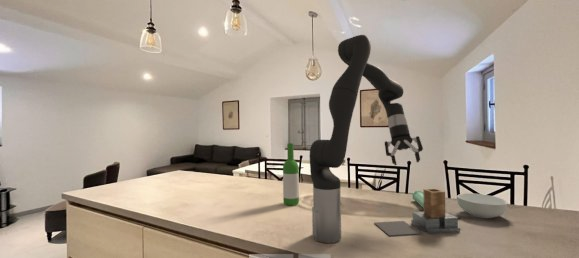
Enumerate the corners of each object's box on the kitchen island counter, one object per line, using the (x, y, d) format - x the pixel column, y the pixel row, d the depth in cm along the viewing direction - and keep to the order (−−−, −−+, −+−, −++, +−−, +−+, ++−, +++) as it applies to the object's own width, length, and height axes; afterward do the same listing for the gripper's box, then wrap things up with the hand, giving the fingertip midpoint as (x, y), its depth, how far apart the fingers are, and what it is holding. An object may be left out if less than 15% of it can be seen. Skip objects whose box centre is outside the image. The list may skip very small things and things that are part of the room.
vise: (427, 234, 89) (427, 200, 89) (411, 223, 99) (410, 193, 99) (470, 231, 90) (470, 198, 90) (450, 221, 100) (449, 192, 100)
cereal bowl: (459, 218, 104) (459, 200, 104) (455, 207, 118) (455, 191, 118) (513, 225, 96) (513, 206, 96) (502, 212, 111) (501, 195, 111)
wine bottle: (281, 205, 125) (280, 143, 125) (286, 201, 132) (285, 143, 132) (296, 206, 122) (295, 143, 123) (300, 202, 130) (299, 143, 130)
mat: (389, 236, 87) (389, 235, 87) (374, 223, 99) (374, 222, 99) (422, 234, 89) (422, 233, 89) (403, 221, 101) (403, 220, 101)
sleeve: (432, 217, 92) (432, 192, 92) (423, 213, 97) (423, 189, 97) (445, 216, 92) (445, 191, 92) (436, 212, 97) (435, 188, 97)
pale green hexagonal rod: (441, 204, 104) (421, 188, 128) (426, 209, 105) (410, 192, 129) (447, 217, 103) (426, 199, 128) (433, 222, 104) (414, 203, 129)
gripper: (380, 127, 110) (388, 164, 105) (416, 120, 106) (426, 159, 100) (381, 132, 117) (388, 167, 111) (415, 126, 112) (424, 162, 107)
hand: (406, 163), depth 106 cm, fingers open, 8 cm apart
